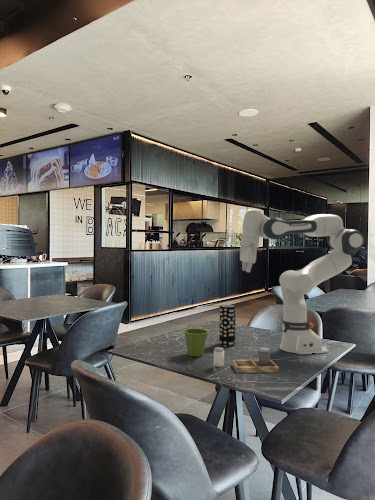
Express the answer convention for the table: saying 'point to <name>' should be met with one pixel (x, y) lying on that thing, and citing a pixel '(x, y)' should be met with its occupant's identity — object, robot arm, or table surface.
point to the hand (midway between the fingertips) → (246, 271)
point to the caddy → (253, 366)
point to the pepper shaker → (264, 357)
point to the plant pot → (195, 341)
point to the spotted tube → (227, 325)
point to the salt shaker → (218, 357)
